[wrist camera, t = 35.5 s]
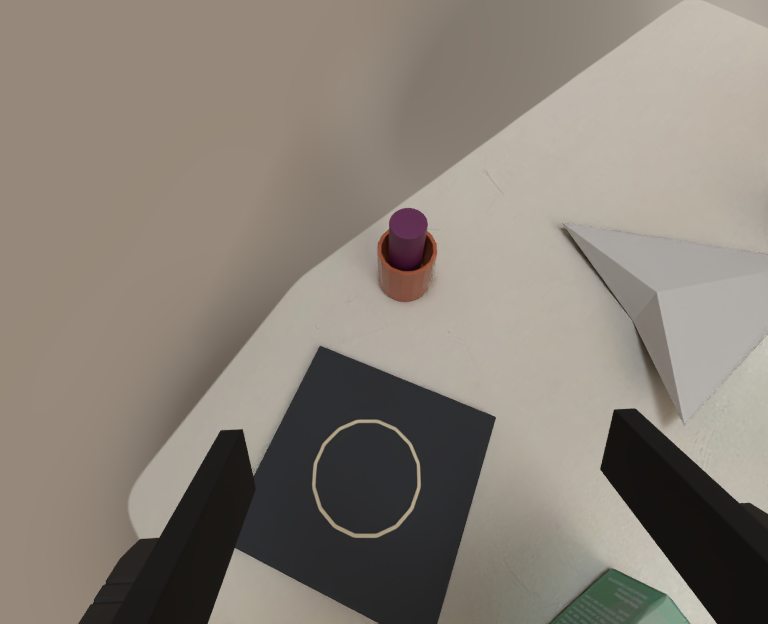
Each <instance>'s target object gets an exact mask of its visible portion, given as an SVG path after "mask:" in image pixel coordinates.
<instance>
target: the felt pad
mask: <svg viewBox="0 0 768 624" xmlns="http://www.w3.org/2000/svg"><path fill="white" fill-rule="evenodd" d="M495 419H496V417H494V416H492V415H489V414H487V413H484V412H482V411H479V410H477V409H475V408H472V407H470V406H467V405H465V404H462V403H460V402H457V401H455V400H452V399H450V398H447V397H445V396H442V395H440V394H438V393H435V392H433V391H430V390H428V389H425V388H423V387H420V386H418V385H415V384H413V383H410V382H408V381H405V380H403V379H401V378H398V377H396V376H393V375H391V374H388V373H386V372H383V371H381V370H378V369H376V368H373V367H371V366H368V365H366V364H364V363H361V362H359V361H356V360H354V359H351V358H349V357H346V356H344V355H341V354H339V353H336V352H334V351H331V350H329V349H327V348H324V347H322V346H320V347H319V349H318V351H317V353H316V355H315V357H314V359H313V361H312V363H311V365H310V367H309V369H308V371H307V372H306V374H305V376H304V378H303V380H302V382H301V384H300V386H299V388H298V390H297V392H296V394H295V396H294V398H293V400H292V402H291V404H290V406H289V408H288V410H287V412H286V414H285V416H284V418H283V420H282V422H281V424H280V426H279V428H278V430H277V432H276V434H275V436H274V438H273V440H272V442H271V444H270V446H269V448H268V449H267V451H266V453H265V455H264V457H263V459H262V461H261V463H260V465H259V467H258V469H257V471H256V473H255V475H254V477H253V478H254V482H255V487H256V490H255V493H254V495H253V498H252V501H251V504H250V507H249V509H248V512H247V515H246V518H245V521H244V523H243V526H242V529H241V532H240V535H239V537H238V540H237V543H236V546H235V548H237V549H238V550H240V551H242V552H244V553H246V554H248V555H250V556H252V557H254V558H256V559H257V560H259V561H261V562H263V563H265V564H267V565H269V566H271V567H273V568H275V569H277V570H278V571H280V572H282V573H284V574H286V575H288V576H290V577H292V578H294V579H296V580H297V581H299V582H301V583H303V584H305V585H307V586H309V587H311V588H313V589H315V590H317V591H318V592H320V593H322V594H324V595H326V596H328V597H330V598H332V599H334V600H336V601H337V602H339V603H341V604H343V605H345V606H347V607H349V608H351V609H353V610H355V611H357V612H358V613H360V614H362V615H364V616H366V617H368V618H370V619H372V620H374V621H376V622H377V623H379V624H437V622H438V619H439V615H440V612H441V608H442V605H443V601H444V598H445V594H446V591H447V587H448V584H449V580H450V576H451V573H452V569H453V566H454V562H455V559H456V555H457V552H458V548H459V545H460V541H461V538H462V534H463V531H464V527H465V524H466V520H467V517H468V513H469V510H470V506H471V503H472V499H473V496H474V492H475V489H476V485H477V482H478V478H479V475H480V471H481V468H482V464H483V461H484V457H485V454H486V450H487V447H488V443H489V440H490V436H491V433H492V429H493V426H494V422H495Z"/></svg>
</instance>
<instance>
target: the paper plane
mask: <svg viewBox="0 0 768 624" xmlns="http://www.w3.org/2000/svg"><path fill="white" fill-rule="evenodd" d="M562 223H563V222H562ZM563 225H564V226H565V228H566V229H567V230H568V232H569V233H570V235H571V236H572V237H573V239H574V240H575V241H576V243H577V244H578V246H579V247H580V248H581V250H582V251H583V253H584V254H585V255H586V257H587V258H588V259H589V261H590V262H591V264H592V265H593V266H594V268H595V269H596V270H597V272H598V273H599V275H600V276H601V277H602V279H603V280H604V282H605V283H606V284H607V286H608V287H609V288H610V290H611V291H612V293H613V294H614V295H615V297H616V298H617V300H618V301H619V302H620V304H621V305H622V306H623V308H624V309H625V311H626V312H627V313H628V315H629V316H630V318H631V319H632V320H633V322H634V324H635V326H636V328H637V330H638V332H639V334H640V336H641V338H642V340H643V342H644V344H645V346H646V348H647V350H648V353H649V355H650V357H651V359H652V361H653V363H654V365H655V367H656V369H657V371H658V373H659V375H660V377H661V379H662V381H663V383H664V385H665V387H666V389H667V391H668V393H669V395H670V397H671V399H672V401H673V404H674V406H675V408H676V410H677V412H678V414H679V416H680V418H681V420H682V422H683V424H684V426H685V425H686V423H687V422H688V421H689V420H690V419H691V418H692V417H693V416H694V415H695V414H696V412H697V411H698V410H699V409H700V408H701V407H702V406H703V405H704V404H705V403H706V401H707V400H708V399H709V398H710V397H711V396H712V395H713V394H714V393H715V392H716V390H717V389H718V388H719V387H720V386H721V385H722V384H723V383H724V382H725V381H726V379H727V378H728V377H729V376H730V375H731V374H732V373H733V372H734V371H735V370H736V369H737V367H738V366H739V365H740V364H741V363H742V362H743V361H744V360H745V359H746V358H747V356H748V355H749V354H750V353H751V352H752V351H753V350H754V349H755V348H756V347H757V345H758V344H759V343H760V342H761V341H762V340H763V339H764V338H765V337H766V336H767V334H768V254H763V253H757V252H750V251H744V250H737V249H731V248H724V247H718V246H711V245H705V244H699V243H692V242H686V241H679V240H673V239H666V238H660V237H653V236H647V235H641V234H634V233H628V232H621V231H615V230H608V229H602V228H595V227H589V226H583V225H576V224H570V223H563Z"/></svg>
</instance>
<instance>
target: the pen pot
mask: <svg viewBox="0 0 768 624" xmlns="http://www.w3.org/2000/svg"><path fill="white" fill-rule="evenodd" d="M436 256H437V244H436V242H435V240H434V238H433V237H432V235H431V234H430V233H429V232H426V238H425V244H424V250H423V256H422V263H421V269H418V270H415V271H400V270H398V269H395V268H392V267H391V266H390V265H389V230H388V231H386V232H385V233H384V234H383V235H382V236H381V238H380V240H379V243H378V273H379V283H380V286H381V288H382V290H383V291H384V293H385V294H386V295H388V296H389V297H391V298H392V299H395V300H398V301H412V300H415V299H418V298H419V297H421V296H422V295H423V294H424V293H425V292H426V291H427V289H428V287H429V285H430V282H431V278H432V274H433V269H434V265H435V261H436Z"/></svg>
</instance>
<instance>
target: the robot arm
mask: <svg viewBox="0 0 768 624" xmlns="http://www.w3.org/2000/svg"><path fill="white" fill-rule="evenodd" d="M600 470H601V471H602V472H603V474H604V475H605V476H606V478H607V479H608V480H609V482H610V483H611V484H612V486H613V487H614V488H615V490H616V491H617V492H618V494H619V495H620V496H621V497H622V499H623V500H624V501H625V503H626V504H627V505H628V507H629V508H630V509H631V511H632V512H633V513H634V515H635V516H636V517H637V519H638V520H639V521H640V523H641V524H642V525H643V527H644V528H645V529H646V530H647V532H648V533H649V534H650V536H651V537H652V538H653V540H654V541H655V542H656V544H657V545H658V546H659V548H660V549H661V550H662V552H663V553H664V554H665V556H666V557H667V558H668V559H669V561H670V562H671V563H672V565H673V566H674V567H675V569H676V570H677V571H678V573H679V574H680V575H681V577H682V578H683V579H684V581H685V582H686V583H687V585H688V586H689V587H690V589H691V590H692V591H693V592H694V594H695V595H696V596H697V598H698V599H699V600H700V602H701V603H702V604H703V606H704V607H705V608H706V610H707V611H708V612H709V614H710V615H711V616H712V618H713V619H714V620H715V621H716V623H717V624H768V514H767V513H765V512H764V511H762V510H760V509H759V508H757V507H756V506H754V505H752V504H751V503H738V502H737V501H736V500H735V499H734V498H733V497H732V496H731V495H730V494H729V493H727V492H726V491H725V490H724V489H723V488H722V487H721V486H720V485H719V484H718V483H716V482H715V481H714V480H713V479H712V478H711V477H710V476H709V475H708V474H707V473H706V472H704V471H703V470H702V469H701V468H700V467H699V466H698V465H697V464H696V463H695V462H693V461H692V460H691V459H690V458H689V457H688V456H687V455H686V454H685V453H684V452H683V451H681V450H680V449H679V448H678V447H677V446H676V445H675V444H674V443H673V442H672V441H670V440H669V439H668V438H667V437H666V436H665V435H664V434H663V433H662V432H661V431H660V430H658V429H657V428H656V427H655V426H654V425H653V424H652V423H651V422H650V421H649V420H647V419H646V418H645V417H644V416H643V415H642V414H641V413H640V412H639V411H638V410H636V409H616V410H614V412H613V416H612V421H611V425H610V429H609V434H608V438H607V442H606V447H605V451H604V455H603V460H602V464H601V468H600ZM255 490H256V487H255V482H254V478H253V473H252V469H251V464H250V460H249V455H248V451H247V446H246V442H245V437H244V433H243V429H240V430H221V431H220V433H219V434H218V436H217V438H216V440H215V441H214V443H213V445H212V447H211V448H210V450H209V452H208V454H207V455H206V457H205V459H204V461H203V462H202V464H201V466H200V468H199V469H198V471H197V473H196V475H195V476H194V478H193V480H192V482H191V483H190V485H189V487H188V489H187V490H186V492H185V494H184V496H183V497H182V499H181V501H180V503H179V504H178V506H177V508H176V510H175V511H174V513H173V515H172V517H171V518H170V520H169V522H168V524H167V525H166V527H165V529H164V531H163V532H162V534H161V536H160V538H149V539H140V540H139V541H138V542H137V543H136V544H135V545H133V546H132V547H131V548H130V549H129V550H128V551H127V552H126V554H124V555H123V556H122V557H121V558H120V560H119V561H118V563H117V564H116V566H115V567H114V569H113V571H112V572H111V574H110V575H109V577H108V578H107V580H106V584H105V585H103V586H102V588H101V589H100V591H99V592H98V594H97V596H96V597H95V599H94V603H93V604H92V605H90V606H89V608H88V610H87V611H86V613H85V614H84V616H83V617H82V619H81V620H80V622H79V624H208V621H209V618H210V616H211V613H212V610H213V607H214V604H215V602H216V599H217V596H218V593H219V590H220V588H221V585H222V582H223V579H224V576H225V574H226V571H227V568H228V565H229V562H230V560H231V557H232V554H233V551H234V548H235V546H236V543H237V540H238V537H239V535H240V532H241V529H242V526H243V523H244V521H245V518H246V515H247V512H248V509H249V507H250V504H251V501H252V498H253V495H254V493H255Z"/></svg>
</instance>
